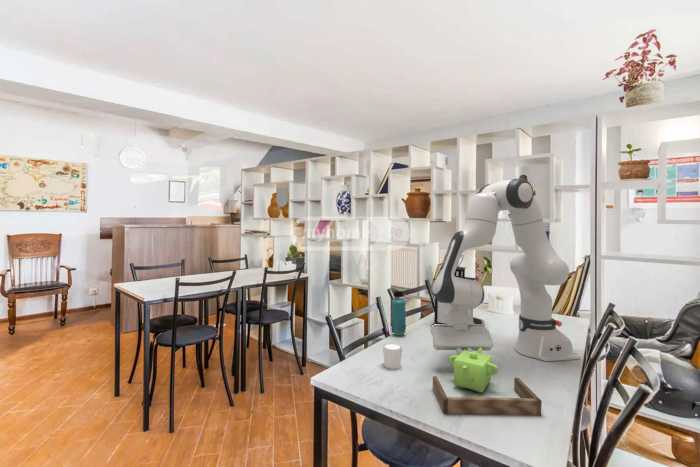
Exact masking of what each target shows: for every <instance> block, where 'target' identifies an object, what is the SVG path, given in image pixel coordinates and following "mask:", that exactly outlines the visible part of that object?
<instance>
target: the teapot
mask: <svg viewBox="0 0 700 467" xmlns="http://www.w3.org/2000/svg"><path fill="white" fill-rule="evenodd" d="M482 349H483V348H481V347H480V348H479V349H478V351H467V350H462V351H461V354H460V355H459V356H458V355H457V354H455V355H454V354H452V355H450V356H449V357H448V359H449V363H450V364H452V366H453V385H454V386H458V388H461V389H469V390H472V391H475V392H476V393H480V394H481V393H483V392H484V390H486V388H487V386H488V384H489V383H490V382H491V381H492V376H494V375H495V374H497V373H498V372H499V370H500V369H499V366H498V365H497V364H494V363H493V362H492V355H490V354H485V353H483V351H482Z"/></svg>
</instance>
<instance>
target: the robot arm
mask: <svg viewBox="0 0 700 467" xmlns="http://www.w3.org/2000/svg"><path fill="white" fill-rule="evenodd" d="M534 193H535V192H534V188H533V186H532V184H531V183H530V182H529V181H528V180H527V179H523V178H513V179H504V180H499V181H497V182H493V183H489V184H485V185H483V186H482V187H481V188H480V189H479V190H478V192H477V193H476V194H474V195H473V196H472V198H471V200H470V202H469V204H468V208H467V211H466V213H465V214H466V215H465V219H464V223H463V225H462V227H461V229H460V230H459V231H456V232H455V233H454V235H453V236H452V237H451V240H450V242H449V243H448V244H449V245H448V246H447V250H446V253H445V255H444V257H443V260H442V263H441V266H440V268H439V271H438V273H437V275H436V277H435V278H436V279H435V278H434V279H435V280H433V284H432V287H431V290H432V291H431V292H432V294H433V297H434V299H435V298H436V299H437V300H438V301H439V302H440V303H442V304H443V309H444V311H445V321H446V324H434V325H433V326H434V327H433V326H430V333H431V335H432V347H433V349H434V350H436V351H455V352H456V354H455V355H458V356H459V355H460V354H461V353H462V351H464V350H467V351H472V352H477V351H478V349H479V348H480V347H481V348H483V349H482V352H488V351H489V352H490V351H491V350H492V349H493V347H494V342H493V338H492V335H491V331H489V329H488V328H487V327H485V326H486V321H485V320H484V319H482V318H477V317H475V316H473V317H472V316H470V315H469V310H472V309H473V310H474V309H476V308H478V307H479V306H480V305H482V303H483V301H485V289H484V286H483V285H482V283H481V282H480V281H477V280H474V281H473V280H469V279H463V278H459V277H455V276H454V273H455V271H456V268H457V267H458V266H459V263H460V262H459V261H460V259H461V258H462V257H461V256H462V254H463V253H464V252H465V251H467V250H469V249H473V248H479V247H484V246H486V245H488V244H489V243H490V242H492V240H493V239H494V237H495V234H496V231H497V225H498V218H499V212H501V211H502V212H503V211H508V213H509V217H510V223H511V228H512V232H513V236H514V241H515V243H516V245H517V246H518V247H519V248H520V249H521V250H522V251H523V252H522V253H517V254H515V255H514V256H512V258H511V260H510V262H509V268H510V271H511V273H513V275H514V277H515V280H516V282H517V285H518V290H519V296H520V313H519V316H518V329H519V330H518V334H517V335H518V336H517V339H516V340H517V341H516V344H515V347H514V350H515V351H516V352H517V353H518V354H521V355H523V356H526V357H528V358H529V357H530V358H533V359H534V358H535V359H538V360H540V361H544V362H557V361H558V362H559V361H569V360H570V361H572V360H580V354H579V352H577V351H575V350H574V349H573V343H572V341H571V339H570V338H569V337H568V336H567V335H565V334H564V333H563V332H562V331H561V330H559V329H558V328H557V327H559V328H560V327H561V326H562V321H560V320H556V319H554V318H553V299H552V296H551V295H550V293H549V292H548V291H547V288H546V286H561V285H563V284H564V283H565V282H566V281H567V280H568V279H569V274H570V269H569V265H568V264H567V263H566V262H565V261H564V260H563V259H562V258H561V257H560V256H559V255H558V254H557V252H556V251H555V249H554V247H553V246H552V244H551V242H550V241H549V238H548V235H547V230H546V228H545V224H544V223H545V222H544V218H543V215H542V212H541V208H540V205H539V202H538V200H537V198H536V196H535V195H534ZM460 257H461V258H460Z"/></svg>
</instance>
